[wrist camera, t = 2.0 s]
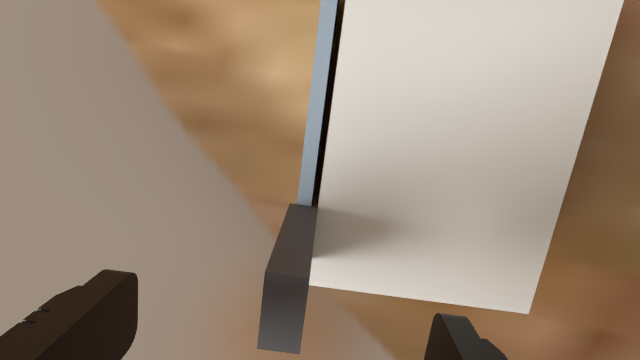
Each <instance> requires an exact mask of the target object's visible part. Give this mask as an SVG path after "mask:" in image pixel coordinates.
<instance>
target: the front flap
mask: <svg viewBox="0 0 640 360" xmlns="http://www.w3.org/2000/svg"><path fill="white" fill-rule="evenodd" d="M339 4H340V0H321V6H320V14H319V23H318V31H317V40H316V48H315V57H314V65H313V74H312V82H311V90H310V99H309V107H308V116H307V124H306V133H305V141H304V150H303V158H302V166H301V175H300V183H299V192H298V200H297V204H291V203H290V205H289V208H288V210H287V213H286V216H285V219H284V221H283V224H282V227H281V229H280V232H279V235H278V238H277V240H276V243H275V246H274V249H273V252H272V254H271V257H270V260H269V263H268V265H267V268H266V271H265V277H264V286H263V296H262V306H261V307H262V308H261V316H260V326H259V337H258V347H257V349H264V350H271V351H279V352H286V353H294V354H300V347H301V339H302V331H303V324H304V316H305V309H306V302H307V294H308V287H309V279H310V271H311V263H312V254H313V246H314V237H315V229H316V220H317V212H318V207H313V204H314V196H315V188H316V181H317V173H318V165H319V158H320V150H321V142H322V134H323V127H324V119H325V111H326V104H327V96H328V88H329V81H330V73H331V65H332V57H333V50H334V42H335V34H336V27H337V19H338V11H339Z"/></svg>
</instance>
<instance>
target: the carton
mask: <svg viewBox="0 0 640 360" xmlns="http://www.w3.org/2000/svg"><path fill="white" fill-rule="evenodd" d="M623 2H624V0H345V3H344V10H343V18H342V25H341V33H340V40H339V48H338V55H337V63H336V70H335V78H334V86H333V93H332V101H331V108H330V116H329V123H328V131H327V138H326V146H325V153H324V161H323V168H322V176H321V183H320V191H319V198H318V206H317V207H318V212H317V220H316V229H315V237H314V246H313V254H312V263H311V271H310V279H309V285H313V286H320V287H328V288H335V289H343V290H351V291H358V292H366V293H373V294H381V295H388V296H396V297H404V298H411V299H419V300H426V301H434V302H441V303H449V304H457V305H464V306H472V307H479V308H487V309H494V310H502V311H510V312H517V313H525V314H528V313H529V310H530V307H531V304H532V300H533V297H534V294H535V291H536V287H537V284H538V281H539V277H540V274H541V271H542V268H543V264H544V261H545V258H546V254H547V251H548V248H549V245H550V241H551V238H552V235H553V231H554V228H555V225H556V222H557V218H558V215H559V212H560V208H561V205H562V202H563V199H564V195H565V192H566V189H567V186H568V182H569V179H570V176H571V172H572V169H573V166H574V163H575V159H576V156H577V153H578V149H579V146H580V143H581V140H582V136H583V133H584V130H585V126H586V123H587V120H588V117H589V113H590V110H591V107H592V103H593V100H594V97H595V94H596V90H597V87H598V84H599V81H600V77H601V74H602V71H603V67H604V64H605V61H606V58H607V54H608V51H609V48H610V44H611V41H612V38H613V35H614V31H615V28H616V25H617V21H618V18H619V15H620V12H621V8H622V5H623Z"/></svg>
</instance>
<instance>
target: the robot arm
mask: <svg viewBox="0 0 640 360" xmlns="http://www.w3.org/2000/svg"><path fill="white" fill-rule="evenodd" d="M137 322H138V278H137V275H136V274H135V273H130V272H122V271H115V270H107V269H105V270H102V271H101V272H100V273H98V274H97V275H96V276H95V277H93V278H92V279H91V280H89V281H88V282H87V283H86V284H84V285H83V286H76V287H74V288H72V289H69V290H67V291H65V292H62V293H60V294H58V295H56V296H54V297H53V298H52V299H50V300H49V301H48V302H46V303H45V304H43V305H42V306H41V307H39V308H38V311H34V312H33V313H31V314H30V315H29V316H27V317H26V318H25V319H23V322H22V323H18V324H16V325H15V326H14V327H13V328H11V329H10V330H8V331H7V332H6V333H4V334H3V335H2V336H0V360H121V359H122V357H123V356H124V355H125V354H126V352H127V351H128V350H129V348H130V347H131V345H132V343H133V340H134V338H135V334H136V331H137ZM424 360H508V359H507V358H506V356H505V355H504V354H503V353H502V352H501V351H500V350H499V349H498V348H496V347H495V346H494V345H493V344H492V343H491V342H490V341H488V340H487V339H481V338H480V337H479V336H478V334H477V332H476V331H475V329H474V327H473V326H472V324H471V322H470V321H469V319H468V318H467V317H465V316H457V315H449V314H442V313H437V314H436V315H435V316H434V318H433V322H432V326H431V330H430V335H429V339H428V344H427V348H426V352H425V357H424Z"/></svg>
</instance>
